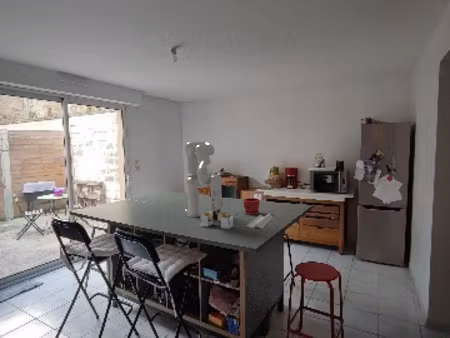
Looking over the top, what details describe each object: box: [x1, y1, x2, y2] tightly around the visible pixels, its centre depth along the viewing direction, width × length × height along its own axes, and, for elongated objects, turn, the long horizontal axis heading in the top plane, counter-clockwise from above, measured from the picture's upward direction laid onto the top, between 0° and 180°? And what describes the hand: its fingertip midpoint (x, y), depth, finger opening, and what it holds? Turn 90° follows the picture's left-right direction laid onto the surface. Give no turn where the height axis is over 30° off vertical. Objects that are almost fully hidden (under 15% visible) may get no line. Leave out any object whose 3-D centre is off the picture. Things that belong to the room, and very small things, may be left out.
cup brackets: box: [199, 213, 234, 230], centre depth 195 cm, size 22×8×8 cm, turn 66°
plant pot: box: [242, 197, 260, 216], centre depth 230 cm, size 13×13×12 cm
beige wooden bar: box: [203, 210, 231, 222], centre depth 194 cm, size 18×4×5 cm, turn 66°
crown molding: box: [245, 213, 274, 230], centre depth 203 cm, size 31×12×4 cm, turn 156°
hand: (216, 218), depth 194 cm, fingers closed on beige wooden bar, 4 cm apart
